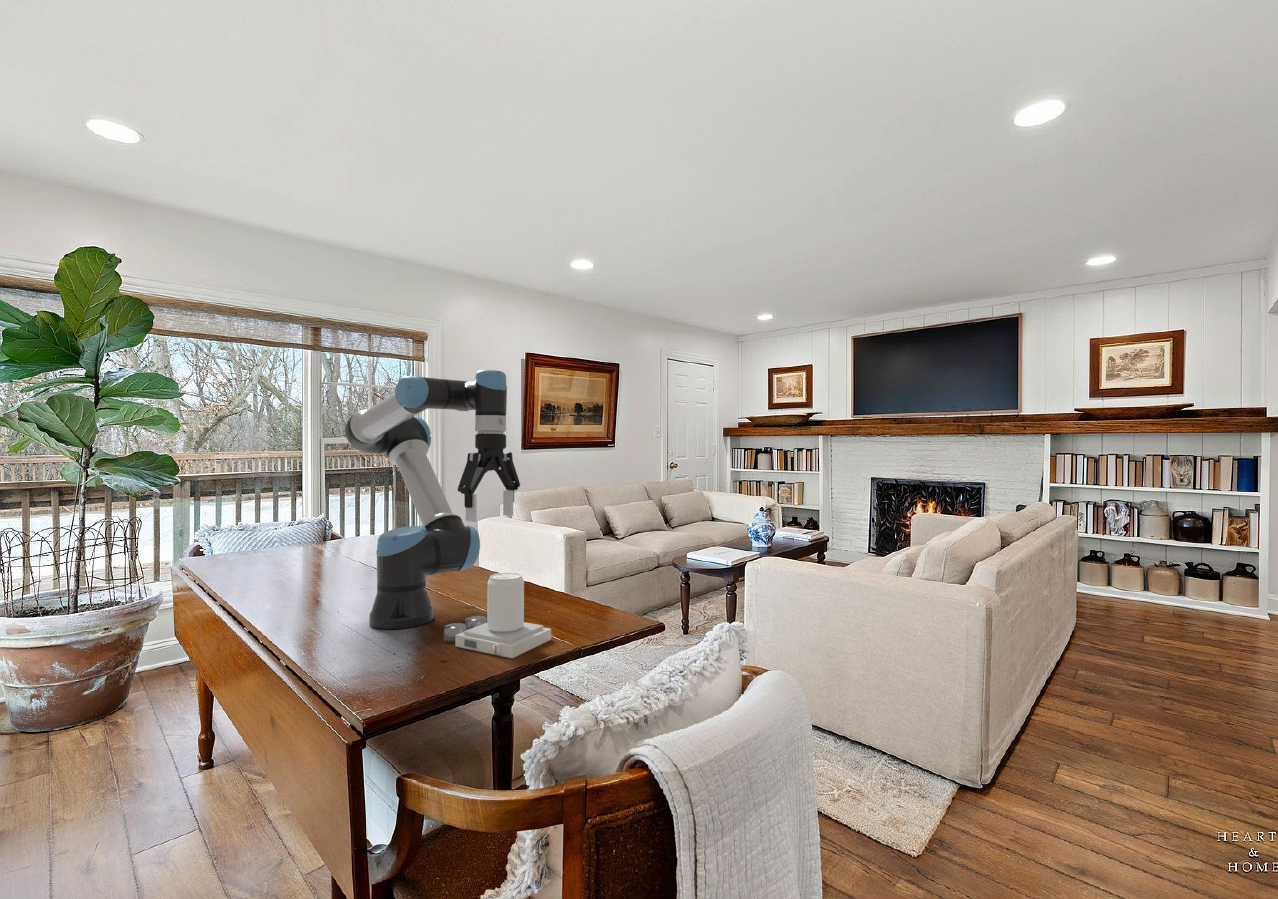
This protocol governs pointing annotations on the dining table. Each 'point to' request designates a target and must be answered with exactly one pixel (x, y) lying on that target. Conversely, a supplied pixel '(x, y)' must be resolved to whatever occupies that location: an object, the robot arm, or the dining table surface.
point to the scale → (503, 639)
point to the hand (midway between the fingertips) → (490, 518)
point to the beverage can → (505, 602)
